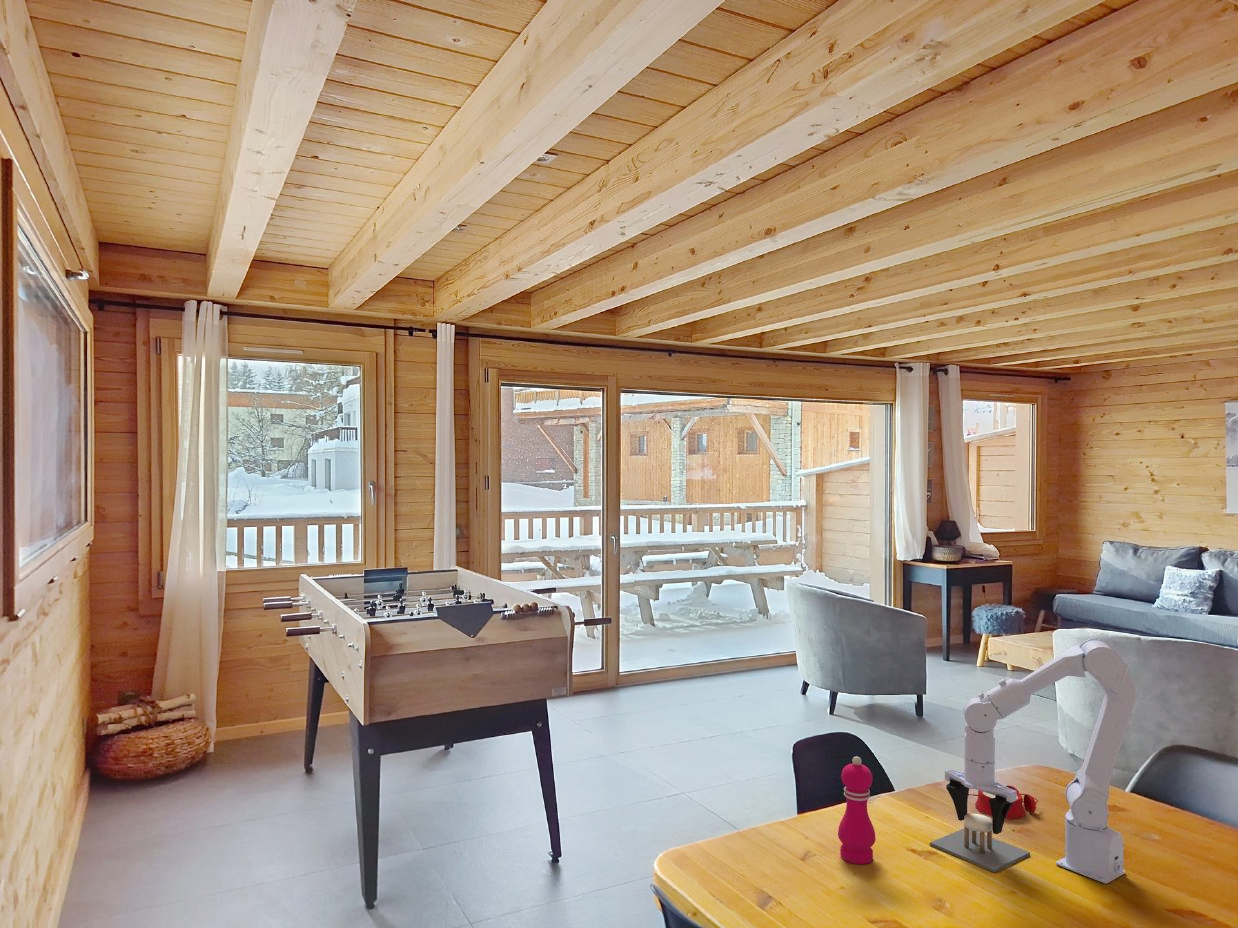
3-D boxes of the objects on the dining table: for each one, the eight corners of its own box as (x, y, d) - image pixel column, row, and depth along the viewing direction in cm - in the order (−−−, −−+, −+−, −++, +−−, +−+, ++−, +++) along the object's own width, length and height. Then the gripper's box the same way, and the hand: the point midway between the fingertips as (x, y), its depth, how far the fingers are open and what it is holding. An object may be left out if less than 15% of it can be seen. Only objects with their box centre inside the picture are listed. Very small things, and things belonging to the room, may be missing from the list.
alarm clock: (961, 788, 190) (1012, 768, 194) (966, 814, 190) (1017, 793, 194) (993, 806, 180) (1047, 784, 184) (998, 833, 180) (1051, 811, 184)
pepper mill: (877, 867, 158) (877, 764, 159) (839, 863, 160) (839, 761, 160) (873, 850, 165) (873, 752, 166) (836, 847, 167) (837, 749, 167)
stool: (996, 848, 166) (996, 819, 166) (984, 855, 162) (984, 826, 162) (971, 839, 170) (971, 811, 170) (959, 846, 166) (959, 817, 166)
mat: (1030, 855, 164) (1030, 852, 164) (994, 872, 157) (994, 869, 157) (966, 829, 176) (966, 827, 176) (929, 845, 168) (929, 842, 168)
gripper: (936, 752, 170) (936, 817, 170) (1002, 773, 158) (1002, 843, 158) (955, 746, 174) (955, 810, 174) (1022, 766, 162) (1022, 834, 162)
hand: (979, 825), depth 166 cm, fingers open, 7 cm apart
